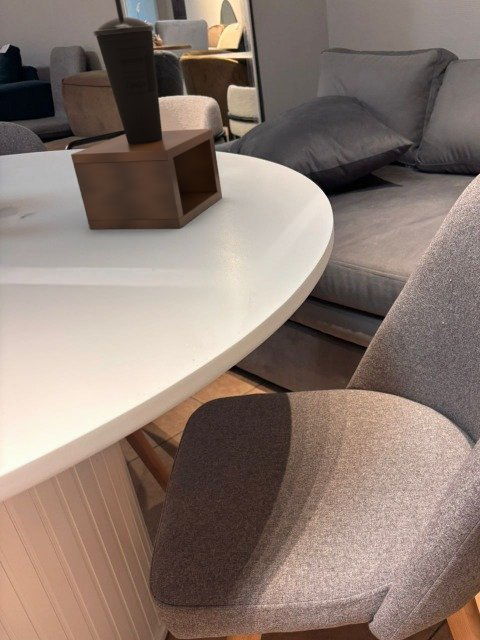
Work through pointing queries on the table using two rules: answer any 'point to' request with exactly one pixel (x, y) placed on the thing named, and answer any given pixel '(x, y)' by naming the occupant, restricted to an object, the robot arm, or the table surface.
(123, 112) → the drinking cup
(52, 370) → the table surface
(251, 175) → the table surface
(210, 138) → the walnut shelf
